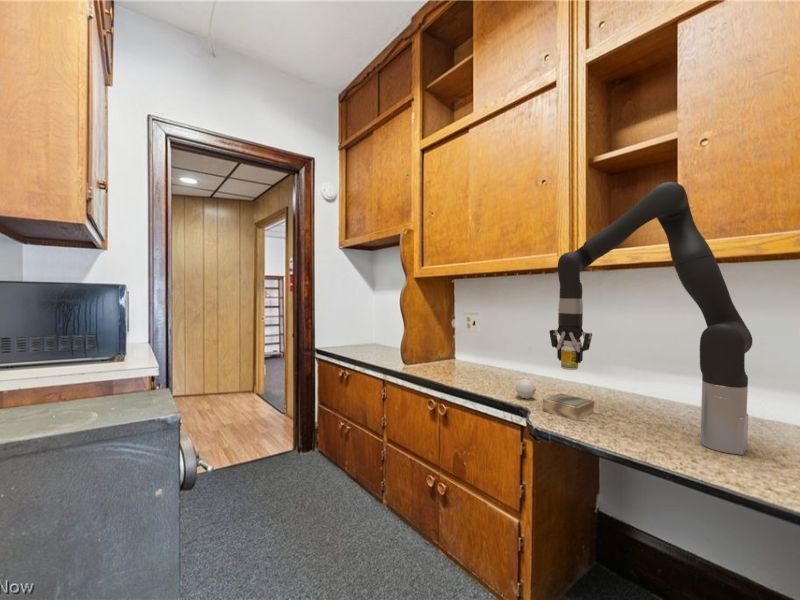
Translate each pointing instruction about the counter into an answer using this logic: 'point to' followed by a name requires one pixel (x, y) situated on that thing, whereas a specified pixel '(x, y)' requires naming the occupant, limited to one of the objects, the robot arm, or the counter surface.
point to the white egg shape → (525, 388)
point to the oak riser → (568, 406)
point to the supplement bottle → (568, 356)
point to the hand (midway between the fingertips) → (569, 361)
